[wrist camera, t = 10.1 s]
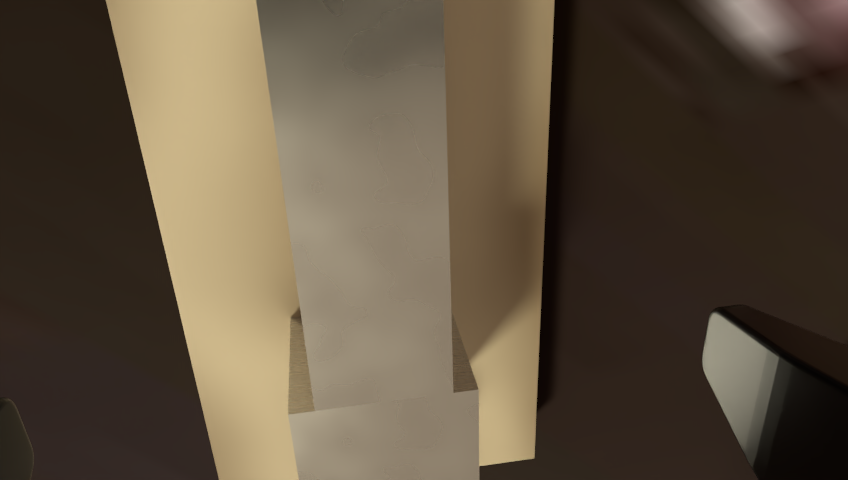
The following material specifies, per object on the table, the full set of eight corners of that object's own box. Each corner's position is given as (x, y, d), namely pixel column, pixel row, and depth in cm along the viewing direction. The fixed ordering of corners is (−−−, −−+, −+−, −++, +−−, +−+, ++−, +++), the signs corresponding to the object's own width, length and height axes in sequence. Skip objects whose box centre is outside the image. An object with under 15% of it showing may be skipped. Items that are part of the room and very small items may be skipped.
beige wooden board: (550, -460, 14) (647, -589, 10) (521, 426, 25) (563, 532, 21) (19, -464, 13) (-106, -614, 9) (229, 467, 24) (214, 587, 20)
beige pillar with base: (432, -258, 14) (475, -301, 11) (450, 383, 21) (479, 483, 18) (204, -253, 14) (170, -296, 10) (303, 402, 21) (303, 509, 17)
